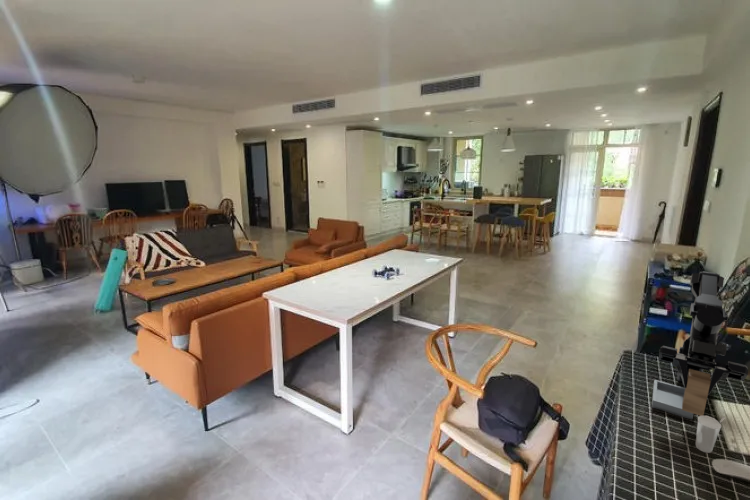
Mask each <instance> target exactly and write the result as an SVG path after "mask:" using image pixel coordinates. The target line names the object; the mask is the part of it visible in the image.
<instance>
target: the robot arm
mask: <svg viewBox="0 0 750 500" xmlns="http://www.w3.org/2000/svg"><path fill="white" fill-rule="evenodd" d="M724 281H725V277H723V276H721V275H720V273H717V272H710V271H699V272H695V273H692V274H691V277H690V282H689V286H691V290H690V291H691V293H692V295H693V296H694V302H691V303H690V308H689V316H690V317H692V321H691V327H690V332H689V337H687V339H685V340H684V341H683V343H682V346H679V349H678V348H675V347H670V346H666V345H662V346H660V349H659V353H658V360H659V361H662V362H667V363H671V364H672V366H673V367H675V368H676V369H677V381H678V382H680V383H682V385H683V388H686V387H687V377H688V372H689V369H692V370H696V371H700V372H704V371H707V372H710V371H711V370H713V372H712V374H711V375H710V379H711V382H710V387H709V391H708V396H710V394H711V392H712V390H713V389H714V387H715V386H716V384H717V383H718V382H719V381H720V380H727V379H731V380H735V381H740V382H744V381H745V380H746V378H747V377H748V374H749V368H748V366H747V365H746V364H742V363H737V362H733V361H729V360H728V361H727V363H726V364H723V363H720V362H716V360H717V357H718V355H719V356H722V357H723V356H726V353H727V346H728V345H727V343H722V342H717V339H718V333H719V331H720V329H721V327H722V325H723V323H725V322H726V321H728V318H729V316H728V313H727V311H726V309H725V308H723V301H722V300H721V299H720V298H718V294H719V292H720V290H723V288H724V284H725V283H724Z"/></svg>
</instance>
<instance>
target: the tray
mask: <svg viewBox="0 0 750 500" xmlns="http://www.w3.org/2000/svg"><path fill="white" fill-rule="evenodd" d="M684 392H685V388H684V386H680V385H675V384H673V383H672V384H671V383H669V382H664V381H661V380H657V379H654V381H653V386H652V397H651V398H652V401H651V408H653V409H656V410H660V411H662V412H666V413H669V414H672V415H675V416H679V417H681V418H684V419H689V420H691V421H693V417H694V414H693V413H690V412H687V411H684V410H682V402H683V397H684Z"/></svg>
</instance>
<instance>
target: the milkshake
mask: <svg viewBox="0 0 750 500" xmlns="http://www.w3.org/2000/svg"><path fill="white" fill-rule="evenodd" d="M725 418H726V417H725V416H723V417H722V418H721V419H720V420H717V419H716V418H714V417H712V416H709V415H703V416H700V415H698V417H697V427H696V436H695V437H696V438H695V448H696V449H698V450H699V451H701V452H703V453H707V454H711V453H712V452H713V449H714V447H715V444H716V441H717V439H718V435H719V433H720V430H721V428H722V424H721V423H722V422H723V421H724V420H725Z"/></svg>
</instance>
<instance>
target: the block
mask: <svg viewBox="0 0 750 500" xmlns="http://www.w3.org/2000/svg"><path fill="white" fill-rule="evenodd" d="M710 382H711V374H710V373H707V372H704V371H703V372H700V371H696V370H692V369H689V372H688V377H687V387H686V388H685V392H684V397H683V402H682V410H684V411H687V412H690V413H693V415H697V416H705V415H704V414H705V409H706V404H707V399H708V396H709V395H708V391H709V387H710Z"/></svg>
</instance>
